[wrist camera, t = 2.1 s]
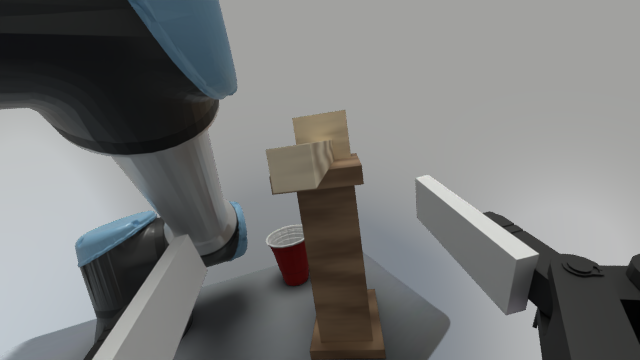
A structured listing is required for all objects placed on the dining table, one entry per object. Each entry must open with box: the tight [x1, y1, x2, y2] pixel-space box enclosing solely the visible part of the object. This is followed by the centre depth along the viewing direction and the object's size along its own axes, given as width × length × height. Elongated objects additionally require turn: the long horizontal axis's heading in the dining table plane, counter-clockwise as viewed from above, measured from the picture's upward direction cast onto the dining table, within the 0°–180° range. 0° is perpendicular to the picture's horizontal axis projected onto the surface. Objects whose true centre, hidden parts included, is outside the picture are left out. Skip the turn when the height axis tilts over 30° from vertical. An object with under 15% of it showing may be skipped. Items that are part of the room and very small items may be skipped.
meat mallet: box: [266, 110, 351, 193], centre depth 29 cm, size 28×8×7 cm, turn 174°
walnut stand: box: [270, 153, 386, 360], centre depth 37 cm, size 20×11×29 cm, turn 174°
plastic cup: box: [266, 225, 309, 286], centre depth 57 cm, size 11×11×12 cm
